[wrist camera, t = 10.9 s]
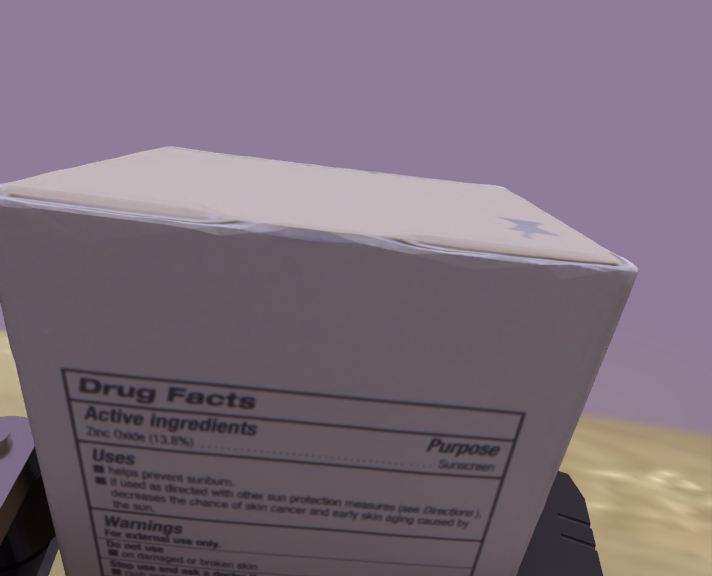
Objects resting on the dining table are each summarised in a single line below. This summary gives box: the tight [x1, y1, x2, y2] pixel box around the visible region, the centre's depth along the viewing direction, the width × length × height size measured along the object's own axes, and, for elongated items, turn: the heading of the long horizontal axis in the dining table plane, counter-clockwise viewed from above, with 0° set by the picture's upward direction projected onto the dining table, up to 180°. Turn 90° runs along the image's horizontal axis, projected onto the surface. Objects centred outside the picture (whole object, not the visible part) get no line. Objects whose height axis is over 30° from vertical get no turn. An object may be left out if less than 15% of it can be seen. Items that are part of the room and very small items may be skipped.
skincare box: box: [0, 146, 638, 576], centre depth 8 cm, size 6×4×12 cm
